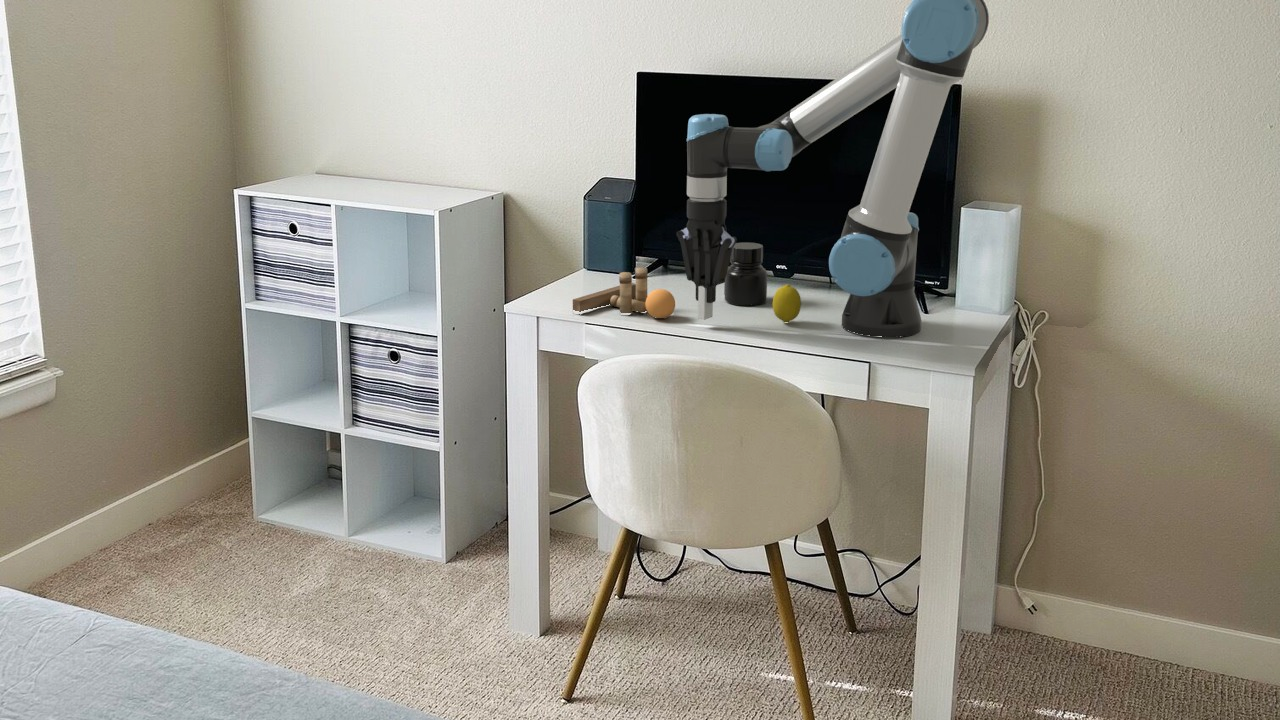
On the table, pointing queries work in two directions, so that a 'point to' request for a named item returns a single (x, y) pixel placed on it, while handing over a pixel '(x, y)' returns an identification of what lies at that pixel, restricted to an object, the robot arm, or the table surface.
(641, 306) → the pin front
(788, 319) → the lemon
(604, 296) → the rail
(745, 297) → the ink bottle
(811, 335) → the table surface
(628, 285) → the pin
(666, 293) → the ball
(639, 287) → the pin
